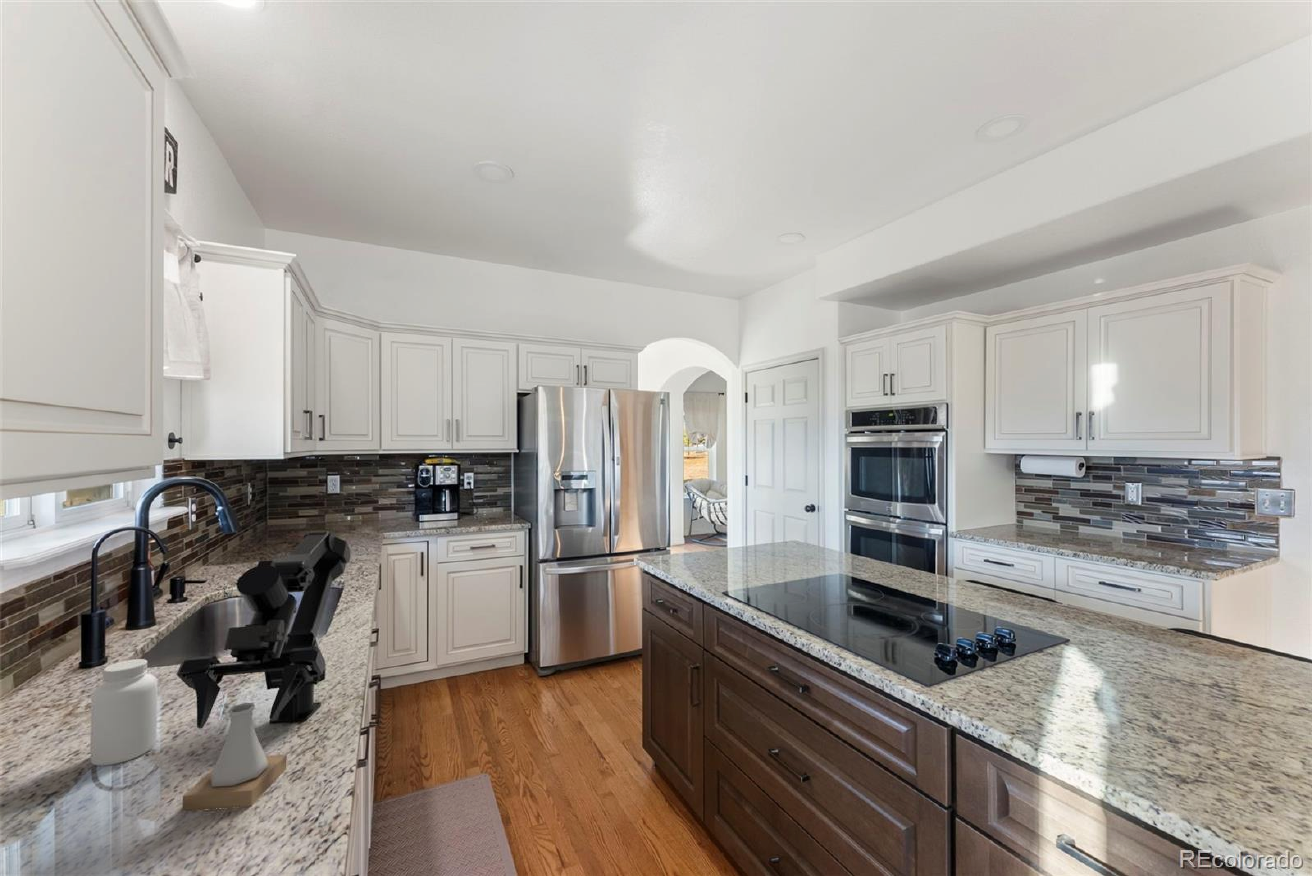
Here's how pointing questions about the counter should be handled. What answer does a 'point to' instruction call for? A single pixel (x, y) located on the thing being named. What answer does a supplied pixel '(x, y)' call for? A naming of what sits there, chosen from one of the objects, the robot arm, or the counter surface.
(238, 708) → the flask
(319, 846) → the counter surface
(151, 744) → the pill bottle
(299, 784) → the counter surface
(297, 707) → the robot arm
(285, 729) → the counter surface
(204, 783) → the square wooden block
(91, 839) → the counter surface
